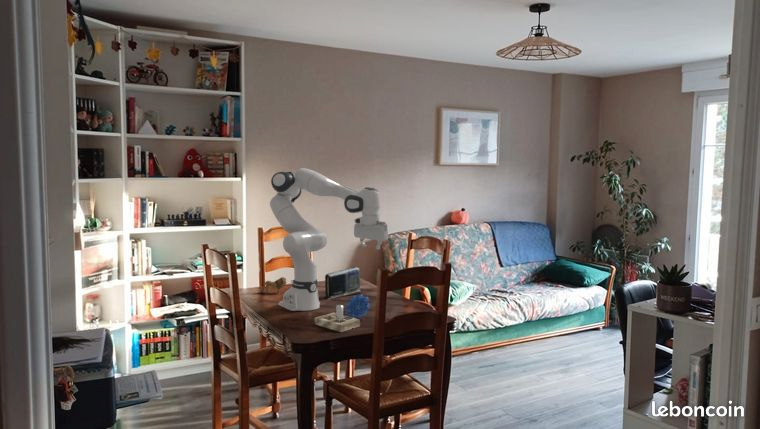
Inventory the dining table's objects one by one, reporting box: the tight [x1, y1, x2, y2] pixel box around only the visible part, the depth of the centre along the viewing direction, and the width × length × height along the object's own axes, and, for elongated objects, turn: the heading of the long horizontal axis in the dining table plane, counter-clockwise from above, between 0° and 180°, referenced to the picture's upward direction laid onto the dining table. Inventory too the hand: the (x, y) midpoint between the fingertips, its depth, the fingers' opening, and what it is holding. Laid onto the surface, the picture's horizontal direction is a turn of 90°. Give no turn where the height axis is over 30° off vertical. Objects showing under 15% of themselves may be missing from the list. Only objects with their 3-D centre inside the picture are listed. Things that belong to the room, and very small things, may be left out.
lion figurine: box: [260, 276, 287, 295], centre depth 313 cm, size 15×5×9 cm, turn 87°
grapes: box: [345, 293, 371, 320], centre depth 264 cm, size 12×7×12 cm, turn 97°
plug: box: [335, 304, 344, 323], centre depth 250 cm, size 3×3×10 cm
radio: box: [324, 265, 362, 300], centre depth 309 cm, size 23×9×15 cm, turn 125°
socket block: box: [314, 312, 361, 333], centre depth 254 cm, size 17×12×3 cm
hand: (370, 248), depth 278 cm, fingers open, 8 cm apart
